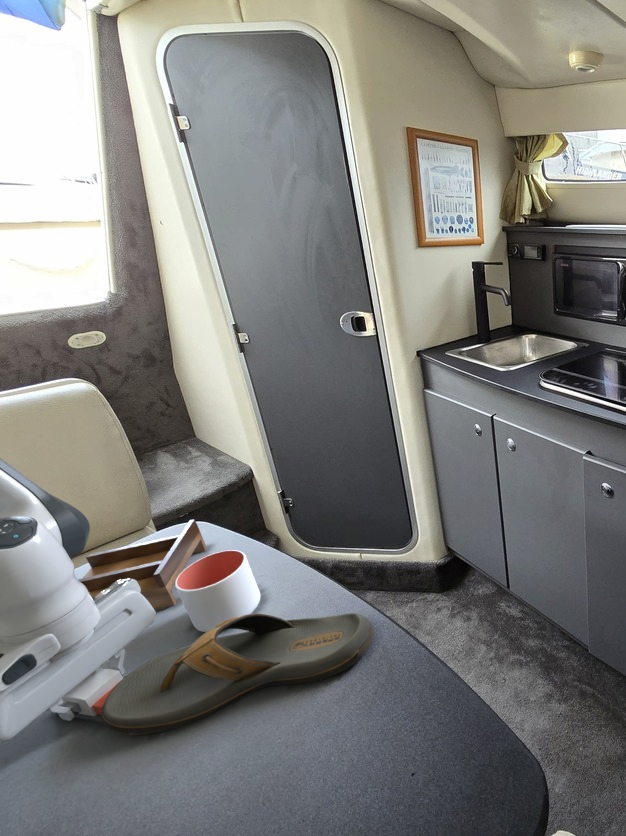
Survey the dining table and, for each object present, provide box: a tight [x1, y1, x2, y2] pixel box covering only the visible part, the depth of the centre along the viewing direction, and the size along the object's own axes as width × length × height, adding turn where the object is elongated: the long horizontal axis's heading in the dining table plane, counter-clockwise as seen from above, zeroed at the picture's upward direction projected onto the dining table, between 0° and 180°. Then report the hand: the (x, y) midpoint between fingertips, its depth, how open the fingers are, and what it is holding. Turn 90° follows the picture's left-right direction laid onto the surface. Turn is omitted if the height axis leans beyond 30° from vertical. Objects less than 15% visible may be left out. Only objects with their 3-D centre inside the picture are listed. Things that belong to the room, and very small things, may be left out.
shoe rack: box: [77, 518, 208, 612], centre depth 94 cm, size 16×17×8 cm
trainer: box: [54, 667, 124, 723], centre depth 72 cm, size 9×5×6 cm, turn 80°
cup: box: [174, 549, 261, 633], centre depth 87 cm, size 10×10×10 cm
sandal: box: [101, 612, 374, 736], centre depth 75 cm, size 14×34×9 cm, turn 104°
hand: (95, 695), depth 73 cm, fingers closed on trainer, 4 cm apart
